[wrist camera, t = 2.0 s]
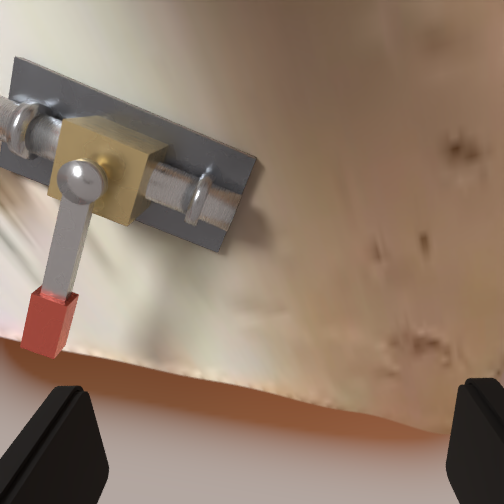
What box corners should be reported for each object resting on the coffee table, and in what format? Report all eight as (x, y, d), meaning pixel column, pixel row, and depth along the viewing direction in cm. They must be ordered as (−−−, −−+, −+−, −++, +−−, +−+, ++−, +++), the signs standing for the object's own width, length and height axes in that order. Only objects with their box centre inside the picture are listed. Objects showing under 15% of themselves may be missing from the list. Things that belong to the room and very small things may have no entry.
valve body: (5, 164, 33) (-70, 183, 26) (22, 57, 30) (-58, 44, 23) (219, 248, 36) (205, 288, 28) (256, 157, 32) (252, 175, 25)
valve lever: (32, 333, 31) (18, 346, 29) (73, 150, 25) (59, 154, 23) (66, 345, 31) (55, 359, 29) (114, 167, 25) (103, 172, 24)
